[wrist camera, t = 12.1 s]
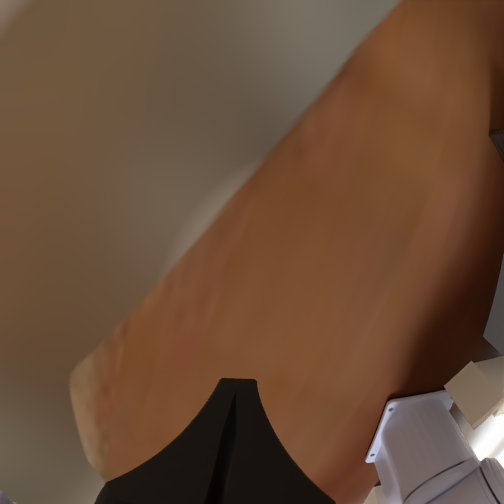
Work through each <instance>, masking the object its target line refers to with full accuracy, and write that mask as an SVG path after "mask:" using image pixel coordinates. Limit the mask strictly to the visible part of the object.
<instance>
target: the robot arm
mask: <svg viewBox="0 0 504 504" xmlns="http://www.w3.org/2000/svg"><path fill="white" fill-rule="evenodd" d="M453 402H454V400H453V399H452V397H451V396H450V395H449V393H448V392H447V390H442V391H437V392H432V393H427V394H422V395H416V396H411V397H405V398H398V399H392V400H390V401H388V402H387V404H386V407H385V410H384V412H383V415H382V418H381V421H380V423H379V426H378V429H377V431H376V434H375V436H374V439H373V441H372V444H371V446H370V449H369V451H368V453H367V456H366V458H365V461H366V462H367V463H370V462H374V463H375V466H376V469H377V472H378V476H379V479H380V482H381V486H382V489H383V492H384V496H385V499H386V501H387V503H388V504H504V469H503V467H502V466H501V465H500V463H499V462H498V461H497V460H496V459H495V458H487V457H486V458H485V459H483V460H482V461H479V460H478V458H477V457H476V455H475V453H474V452H473V450H472V448H471V446H470V445H469V443H468V441H467V440H466V438H465V436H464V435H463V433H462V431H461V430H460V428H459V427H458V425H457V423H456V422H455V420H454V419H453V417H452V415H451V414H450V412H449V410H450V408H451V406H452V404H453ZM0 504H16V503H15V502H13V501H11V499H10V498H9V497H8V496H7V495H6V494H5V493H4V492H3V491H2V490H1V489H0ZM95 504H336V503H335V501H334V500H333V499H332V498H330V497H329V496H328V495H327V494H325V493H324V492H323V491H322V490H321V489H320V488H319V487H317V486H316V485H315V484H314V483H313V482H312V481H311V480H310V479H309V478H308V477H307V476H306V475H305V473H304V472H303V471H302V470H301V469H300V468H299V467H298V465H297V464H296V463H295V462H294V461H293V459H292V458H291V457H290V455H289V454H288V453H287V451H286V450H285V448H284V447H283V445H282V444H281V442H280V441H279V439H278V437H277V436H276V434H275V432H274V430H273V428H272V426H271V424H270V422H269V420H268V418H267V416H266V413H265V411H264V408H263V406H262V403H261V400H260V397H259V393H258V388H257V381H256V380H255V379H233V378H222V379H220V380H219V382H218V384H217V386H216V388H215V390H214V391H213V393H212V395H211V396H210V398H209V399H208V401H207V402H206V404H205V405H204V406H203V408H202V409H201V410H200V412H199V413H198V414H197V416H196V417H195V418H194V419H193V420H192V421H191V423H190V424H189V425H188V426H187V427H186V428H185V429H184V430H183V432H182V433H181V434H180V435H179V436H177V437H176V438H175V439H174V440H173V441H172V442H171V443H170V444H169V445H167V446H166V447H165V448H164V449H163V450H161V451H160V452H159V453H158V454H156V455H155V456H153V457H152V458H151V459H149V460H147V461H146V462H144V463H143V464H141V465H140V466H138V467H136V468H135V469H133V470H131V471H129V472H127V473H125V474H123V475H121V476H119V477H117V478H115V479H113V480H111V481H108V482H106V484H105V485H104V487H103V488H102V490H101V491H100V493H99V495H98V497H97V499H96V502H95Z"/></svg>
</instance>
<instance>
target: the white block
mask: <svg viewBox="0 0 504 504" xmlns="http://www.w3.org/2000/svg"><path fill="white" fill-rule="evenodd" d="M483 337H484V338H485V339H486V340H487V341H488V342H489V343H490V344H491V345H492V346H493V347H495V348H496V349H497V350H498V351H499V352H500V353H501V354H502V355H503V356H504V255H503V260H502V265H501V270H500V275H499V279H498V284H497V288H496V292H495V296H494V300H493V304H492V308H491V311H490V315H489V318H488V321H487V325H486V328H485V331H484V334H483Z"/></svg>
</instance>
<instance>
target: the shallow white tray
mask: <svg viewBox="0 0 504 504" xmlns="http://www.w3.org/2000/svg"><path fill="white" fill-rule="evenodd" d="M444 387H445V389H446V390H447V392H448V393H449V395H450V396H451V397H452V399H453V400H454V402H455V403H456V405H457V406H458V408H459V409H460V411H461V412H462V414H463V415H464V417H465V418H466V420H467V421H468V423H469V424H470V426H471V427H472V429H473V430H474V429H476V428H477V427H478V426H479V425H480V424H481V423H482V422H484V421H485V420H486V419H487V418H488V417H489V416H490V415H491V414H493V415H494V417H495V416H498V415H500V414H503V413H504V356H500V357H496V358H492V359H488V360H484V361H480V362H475V363H473V362H472V360H471V361H470V362H469V363H468V364H467V365H466V366H465V367H464V368H463V369H462V370H461V371H460V372H459V373H458V374H456V375H455V376H454V377H453V378H452V379H451V380H450V381H449V382H447V383H446V384H445V385H444Z"/></svg>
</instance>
